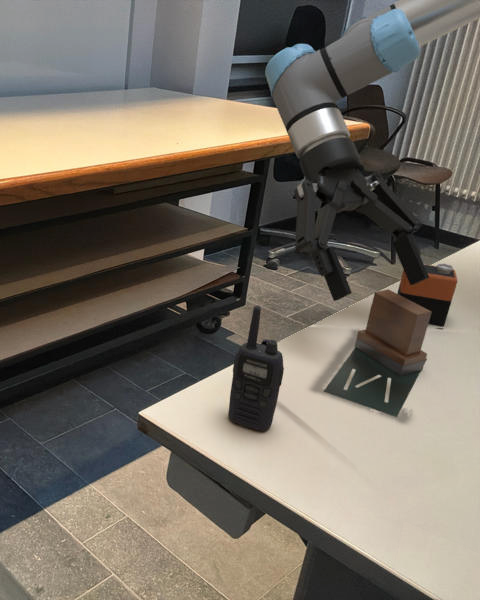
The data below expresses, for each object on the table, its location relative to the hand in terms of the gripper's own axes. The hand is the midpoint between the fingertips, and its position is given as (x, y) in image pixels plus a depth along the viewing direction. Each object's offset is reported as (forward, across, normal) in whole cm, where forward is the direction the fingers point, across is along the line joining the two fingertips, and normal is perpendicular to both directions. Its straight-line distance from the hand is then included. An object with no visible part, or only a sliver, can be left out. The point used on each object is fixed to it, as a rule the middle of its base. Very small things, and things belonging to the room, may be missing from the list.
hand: (382, 289), depth 89 cm
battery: (+5, -13, -10) cm, 17 cm away
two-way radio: (+12, +24, -3) cm, 27 cm away
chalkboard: (+11, +4, -3) cm, 12 cm away
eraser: (+9, 0, -4) cm, 9 cm away
